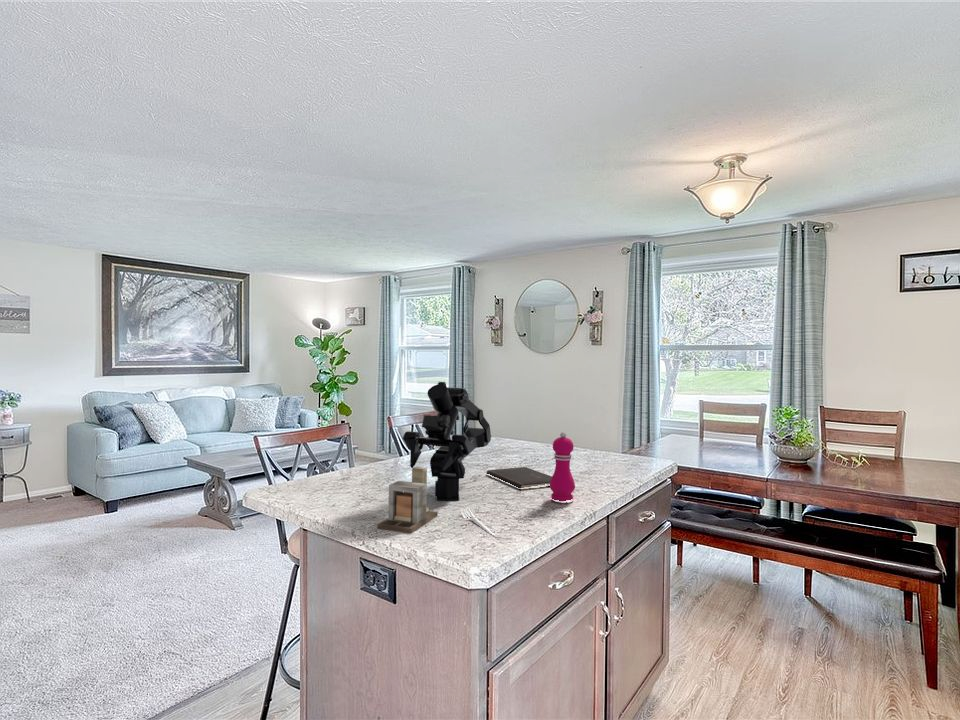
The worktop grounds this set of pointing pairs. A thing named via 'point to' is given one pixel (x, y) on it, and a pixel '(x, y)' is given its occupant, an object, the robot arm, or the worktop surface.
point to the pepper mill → (562, 469)
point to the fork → (474, 519)
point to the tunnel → (418, 507)
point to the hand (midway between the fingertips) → (426, 468)
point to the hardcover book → (521, 476)
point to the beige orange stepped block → (409, 496)
